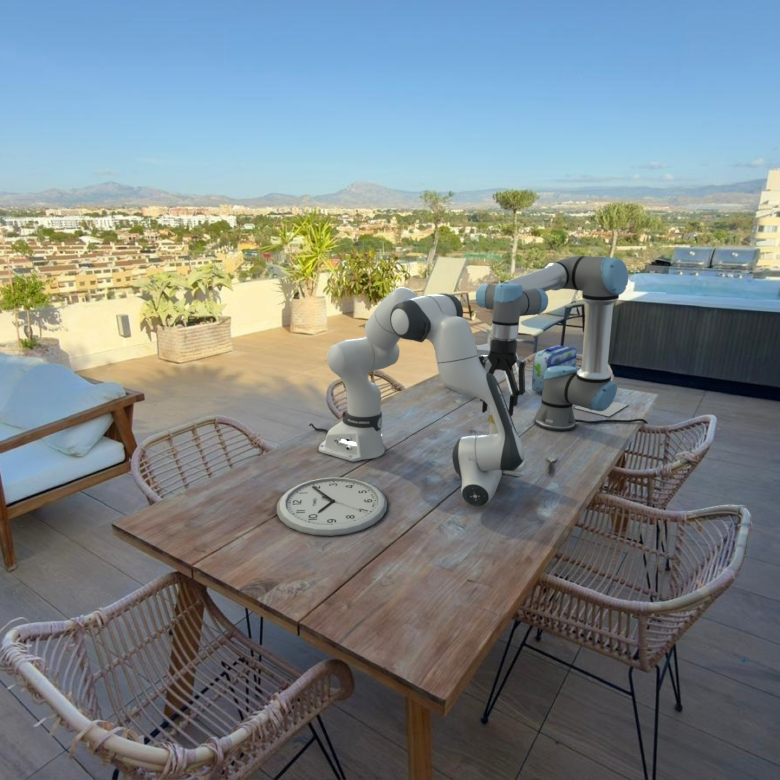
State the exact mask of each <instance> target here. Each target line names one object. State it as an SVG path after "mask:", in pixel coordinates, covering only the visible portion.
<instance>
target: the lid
mask: <svg viewBox="0 0 780 780" xmlns="http://www.w3.org/2000/svg"><path fill="white" fill-rule="evenodd" d="M488 421H489V422H491V423H495V422H494V419H493V416H492V414H491V411H489V413H488Z"/></svg>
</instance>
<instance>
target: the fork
mask: <svg viewBox="0 0 780 780" xmlns="http://www.w3.org/2000/svg"><path fill="white" fill-rule="evenodd" d="M547 460H548V461H549V464H548V475H550V474H551V471H552V469H553V462H556V460H557V453H555V452H553V450H550V449H549V450H548V456H547Z"/></svg>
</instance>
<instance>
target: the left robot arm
mask: <svg viewBox="0 0 780 780" xmlns="http://www.w3.org/2000/svg"><path fill="white" fill-rule="evenodd" d="M472 330H473V329H472V327H471V325H470V323H469V321H468V320H467V319H466V318H464V307H463V303H462V302H461V300H460V299H459V298H458V297H456V295H453V294H449V293H444V292H443V293H442V292H441V293H436V294H425V295H422V296H418V294H417V293H416V292H414V291H413V290H412V289H411V288H408V287H403V286H402V287H401V286H400V287H396V288H395V289H394V290H392V291H391V292H389V294H387V295H386V296H385V297H384V298H383V299H382V300H381V302H380V303H379V304H378V306H377V307H376V308H375V310H374V311H373V312H372V314H371V315H370V317H369V318H368V319H367V320H366V322H365V325H364V333H365V336H364V337H360V338H352V339H351V338H350V339H345V340H342V341H339V342H337V343H334V344H332V345H331V346H330V347H329V348H328V350H327V353H326V363H327V366H328V367H329V369H330V371H332V372H333V374H335V375H336V376H338V377H339V379H340V380H341V381H342V382H343V385H344V387H345V392H346V404H347V405H346V409H345V410H344V411H342V413H341V414H340V415H339V416H340V417H339V418H340V419H342V420H341V421H339V422H338V423H336V424H335V425H334V426H332V427H331V428H330V429H329V430H328V429H326V428H318V427H316V426H315V424H313V423H309V425H308V426H309V427H312V428H313V429H314V430H316V431H319V432H320V431H322V432H326V436H325V440H323V441H322V442H321V443H320V444H319V446H318V452H319V453H322V454H325V455H329V456H331V457H335V458H340V459H342V460H346V461H349V462H352V463H353V462H358V461H363V460H371V459H375V458H379V457H381V456H382V455H384V453H385V452H386V449H385V445H384V442H383V441H384V440H383V434H382V427H383V413H382V409H381V405H382V404H381V402H382V401H381V400H382V392H381V389H380V387H379V386H378V385H377V384H376V383H374V382H372V381H370V380H369V374H368V373H369V372H373V371H379V370H384V369H387V368H389V367H391V366H393V365H395V364H396V363H397V362H398V360H399V359H400V347H399V344H398V342H399V341H400V340H401V339H403V340H406V341H415V342H418V343H423V342H424V341H425V340H427V341H429V343H431V344H432V346H433V349H434V355H435V360H436V361H435V362H436V366H437V371H438V375H439V378H440V381H441V382H442V384H444V386H446V387H447V388H449V389H450V390H452V391H454V392H456V393H459V394H464V395H468V396H471V397H475V398H478V399H479V400H480V399H482V400H483V401H485V402H486V403H487V405H488V406H487V407H488V408H489V410H490V411H489V412H491V414H492V416H493V419H494V422H495V425H496V427H497V430H498V433H496V434H489V433H487V434H475V435H467V436H461V437H459V438H458V439H457V441H456V443H454V446H453V449H452V456H451V457H452V465H453V468H454V471H455V472H456V476H457V477H459V478H460V479H461V489H460V492H461V497H462V499H463V500H464V501H465V503H467V504H469V505H470V506H474V507H483V506H486V505H487V504H489V503H490V502H491V500H492V499H493V498H494V496H495V495H496V491H497V489H498V485H500V481H501V479H502V477H505V478H510V479H520V478H523V477H524V476H525V475H526V469H527V460H526V459H525V448H524V445H523V442H522V440H521V438H520V435H519V434H518V431H517V429H516V426H515V424H514V421H513V418H512V416H511V415H510V413H509V406H508V404H507V401H506V399H505V397H504V394H503V391H502V389H501V386H500V383H499V382H498V379H497V378H496V377H495V375H494V374H491V373H488V372H487V371H486V370H485V369H484V368H483V366H482V364H481V362H480V360H479V356H478V351H477V347H476V346H477V343H476V340H475V339H476V338H475V336H474V333H473V331H472ZM483 401H482V402H483Z"/></svg>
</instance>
